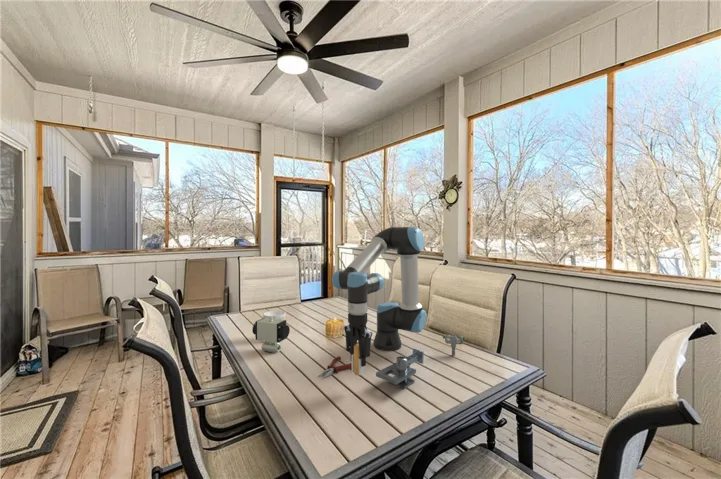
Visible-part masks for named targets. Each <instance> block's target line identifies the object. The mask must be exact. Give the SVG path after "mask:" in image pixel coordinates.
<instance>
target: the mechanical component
mask: <svg viewBox="0 0 721 479" xmlns="http://www.w3.org/2000/svg"><path fill="white" fill-rule="evenodd" d="M442 339H444V342H445V343H446V344H450V347H451V356H452V357H455V356H456V348H457V345H459V346H460V345H463V343H464V341H465V336H463V335H461V336H460V338H459V337H458V336H457V335H456V334H446V333H444V335H442Z"/></svg>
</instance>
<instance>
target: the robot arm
mask: <svg viewBox="0 0 721 479" xmlns="http://www.w3.org/2000/svg"><path fill="white" fill-rule="evenodd" d="M424 248H425V237H424V233H423V231H422V229H420V228H419V227H415V226H398V227H397V226H396V227H395V226H393V227H392V226H391V227H387V228H385V229H383V230H381V231H380V232H377V233H376V234H375V235H374V236H373V237H372V238H371V239H370V242H369V244H368V245H367V246H366V247H365V248H364V249H363V250H362V251H361V252H360V253H359V254H358V255H357V257H355V258H354V259H353V260H352V261H351V262H350V263H349V265H347V266H346V268H344V269H343V271H342V270H337V271H335V272H333V274H332V277H331V283H332V285H333V286H334V288H336V289H341V290H346V291H347V312H348V313H347V323H348V324H347V325H345V326H344V327H343V329H344V332H345V334H344V335H345V347H346V349H345V350H346V352H349V354H350V363H352V369H351V372H352V373H354V345H355V344H359V352H360V357H359V375H358V376H362V375H363V374H365V373H366V365H367V358H369V357H371V349H372V348H371V347H372V346H371V344H372V336H373V332H372V331H369V330H368V327H367V323H368V313H367V312H368V295H370V294H373V293H376V292H379V291H380V290H381V289H382V288H383V287H384V285H385V284H384V283H385V281H384V277H383V276H382V274H380V273H377V272H375V273H374V272H372V273H366V271H368V270H369V268H370V267H371V266H372V265H373V264H374V262H376V260H377V259H378V258H379V257H380V256H381V255H382V254H385V253H386V252H387V251H390V250H395V251H396V255H397V256H398V257H400V258H399V260H400V278H401V279H400V282H401V286H400V287H401V302H400V304H399V302H395V301H393V302H392V301H390V302H384V303H380V304H378V305H377V307H376V333H375V336H374V340H373V348H375V349H377V350H380V351H387V352H389V351H390V352H391V351H397V350H399V349H401V348H402V340H401V336H400V334H399V330H400V331H406V332H410V333H418V334H419V333H421V332H422V331H423V330H424V329H425V325H426V322H427V311H426V310H424V309H423V304H421V303H420V297H419V296H420V292H419V269H418V266H419V265H418V257H419V255H421V251H423V250H424ZM361 374H362V375H361Z"/></svg>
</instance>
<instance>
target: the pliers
mask: <svg viewBox="0 0 721 479" xmlns="http://www.w3.org/2000/svg"><path fill="white" fill-rule="evenodd" d="M341 359H342V357H341V356H339V355H338V356H336V357H334V358H333V359H332V361H331V363H330V365H327V366H326V367H327V368H326V369H325V370H324V371H323V372H322V373H320V374H319V375H318V377H323V379H325V378H327V377H330V376H331V375H333V374H335V373H336V374H338V373H339V372H343V371H347V370H352V362H350V363H347V364H342V365H337V366H336V363H338V362H340V361H342V360H341Z"/></svg>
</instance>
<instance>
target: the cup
mask: <svg viewBox="0 0 721 479" xmlns="http://www.w3.org/2000/svg"><path fill="white" fill-rule="evenodd" d="M286 313H287V312H286V311H284V310H279V309H278V310H277V309H275V310H268V311H265V312H264V313H263V314H262V315H263V316H262V317H263V318H270V317H272V319H280V320H285V318H286V315H287V314H286Z"/></svg>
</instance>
